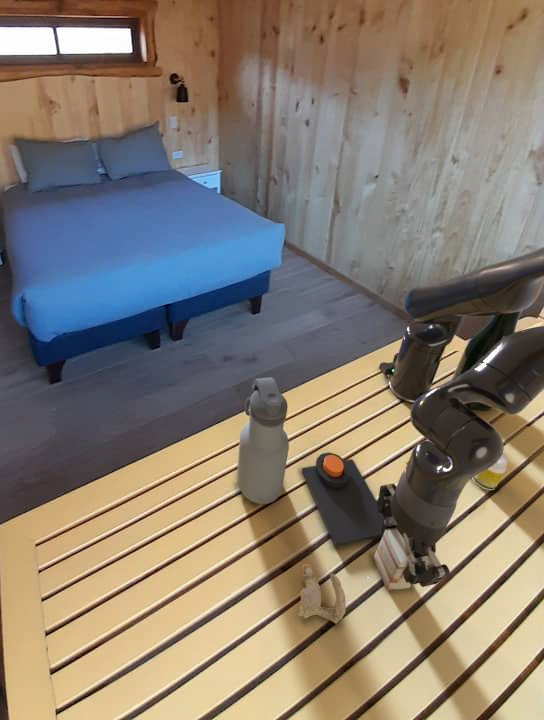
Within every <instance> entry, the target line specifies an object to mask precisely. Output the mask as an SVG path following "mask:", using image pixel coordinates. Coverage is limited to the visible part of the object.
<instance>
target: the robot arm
mask: <svg viewBox="0 0 544 720" xmlns="http://www.w3.org/2000/svg"><path fill="white" fill-rule="evenodd" d="M543 286H544V246H543V247H540V248H537V249H534V250H533V251H530V252H528V253H525V254H521V255H519V256H516V257H513V258H509V259H506V260H503V261H499V262H496V263H491V264H488V265H485V266H482V267H479V268H476V269H473V270H471V271H468V272H466V273H462V274H459V275H456V276H454V277H450V278H449V279H445V280H443V281H440V282H436V283H430V284H424V285H423V284H421V285H416V286H414V287H413V288H411V289H410V290H409V291H408V292H407V294H406V297H405V299H404V308H405V312H406V313H407V315H408V316H409V317H410V319H412V320H413V322H410V323H409V324H408V325H407V326H406V328H405V330H404V333H403V337H402V340H401V343H400V347H399V351H398V352H396V353H395V354H394V356H393V359H392V362H391V361H390V362H386V361H383V362H381V363H379V366H378V369H379V371H380V372H381V373H382V374H383V375H384V376H387V380H388V387H389V390H390V391H391V392H392V394H393V395H394V396H395V397H396V398H398V399H400V400H401V401H403V402H406V403H409V404H412V406H411V408H410V414H409V415H410V417H409V419H410V423H411V425H412V426H413V427H414V429H415V430H416V431H417V432H418V433H419V434H420V435H421V436H423V437H424V438H425V439H426V440H423V441H420V442H418V443H417V444H416V445H415V446H414V447H413V449H412V451H411V453H410V455H409V459H408V462H407V464H406V467H405V469H404V470H403V472H402V473H401V475H400V477H399V480H398V481H397V484H396V483H387V484H382V485H380V487H379V493H378V500H377V503H378V505H377V509H378V511H379V513H380V514H381V513H382V514H383V517H384V518H383V519H382V520H383V526H382V528H381V532H382V534H381V537H383V535H384V532H385V530H387V529H393V528H397V530H398V531H399V533H400V534H401V536H402V537H403V539H404V541H405V548H406V557H407V558H408V559H409V567H408V569H407V571H406V573H405V575H404V579H405V581H406V583H409V582H410V584H411V586H412V585H417V584H419V585H420V587H422V588H424V587H429V586H433V585H437V584H440V582H441V581H443V580H444V579H445V578H446V577H448V576H450V574H451V571H450V569H449V567H448V565H447V564H446V563H443V564H441V563H440V560H439V558H438V557H437V554H436V552H437V548H436V545H437V543H438V542H439V541H440V539H441V538H442V537H443V534H444V533H445V531H446V529H447V527H448V525H449V523H450V521H451V520H452V517H453V515H454V513H455V511H456V508H457V504H458V501H459V499H460V496H461V494H462V492H463V490H464V488H465V486H467V484H468V483H469V482H470V481H471V480H473V479H472V478H473V477H474V476H476V475H478V474H479V473H481V472H483V471H485V470H486V469H488V468H490V467H491V466H493V465H494V464H495V463H496V462H497V461H498V460H499V459H500V458H501V456H502V454H503V453H504V440H503V438H502V435H501V433H500V432H499V431H498V430H497V428H496V427H495V426H493V425H492V424H491V423H490V422H488V421H487V420H486V419H484V418H483V417H481V416H480V415H479V414H478V413H476V412H475V410H473V409H470V408H468V407H467V406H466V405H464V404H465V403H469V402H480V403H483V404H486V405H488V406H490V407H492V408H494V409H495V410H497V411H499V412H501V413H503V414H506V415H510V416H511V415H512V416H513V415H517V414H519V413H521V412H522V411H523V410H525V409H526V408H527V406H529V405H530V404H531V403H532V402H533V400H534V399H536V398H537V397H538V396H539V394H541V392H543V391H544V325H540V326H534V327H531V328H530V327H529V328H525V329H521V330H518V331H515V333H512V334H510V335H508V336H506V337H504V338H503V339H501V340H500V341H499V342H498V343H496V344H495V345H494V346H493V347H492V348H491V349H490V350H489V351H488V352H487V353H486V354H485V355H484V356H483V357H482V358H481V359H480V360H479V361H478V362H477V363H476V364H475V365H474V366H473V367H472V368H470V369H469V370H468V371H466V372H464V373H463V374H461V375H459V376H458V377H456V378H454V379H452V378H451V380H448V381H447V382H445V383H443V384H440V385H438V386H436V387H434V388H432V386H433V382H434V380H435V377H436V375H437V372H438V369H439V367H440V365H441V361H442V358H443V356H444V353H445V351H446V348H447V346H449V345H450V344H451V343H452V341H453V340H454V338H455V336H456V333H457V331H458V329H459V326H460V325H461V322H462V320H463V318H464V317H488V316H489V317H490V316H494V315H500V314H507V313H513V312H518V311H522V312H523V311H524V310H527V309H528V308H529V307H531V306H532V305H533V304H534V303H535V301H536V300H537V299H538V298H539V295H540V293H541V291H542V288H543ZM494 409H493V410H494ZM413 551H414V552H413ZM418 562H420V564H417V563H418Z"/></svg>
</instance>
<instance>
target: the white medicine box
mask: <svg viewBox="0 0 544 720" xmlns="http://www.w3.org/2000/svg"><path fill="white" fill-rule="evenodd" d="M413 552H414V551H413ZM373 561H374V563H375V565H376V568H377V570H378V573H379V575H380V578H381V580H382V582H383V584H384V586H385V589H386V590H388V591H390V590H391V591H392V590H403V589H410V587H412V585H411V584H410V582H409V583H406V581H405V579H404V575H405V573H406V571H407V569H408V567H409V559H408V558H407V557H406V548H405V541H404V539H403V537H402V536H401V534H400V533H399V531H398V530H397V528H393V529H387V530H385V532H384V535H383V537H382V538H380V541H379V544H378V546H377V549H376V551H375V554H374V556H373ZM417 564H420V562H418V563H417Z"/></svg>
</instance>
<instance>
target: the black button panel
mask: <svg viewBox="0 0 544 720" xmlns="http://www.w3.org/2000/svg"><path fill="white" fill-rule="evenodd" d="M328 455H334V456H337V457H338V458H340V459H341V461H342V462H343V465H344V468H343V472H342V475H341V476H340V477H336V478H335V477H331V476H329V475H328V474H327V473H326V472H325V471H324V468H323V463H324V459H325V457H326V456H328ZM315 460H316V461H315V465H313V466H307V467H302V468H301V474H302V476H303V479H304V481H305V484H306V486H307V488H308V489H309V493H310V494H311V497H312V499H313V501H314V504H315V506H316V508H317V511H318V513H319V515H320V517H321V520H322V522H323V524H324V527H325V529H326V532H327V534H328V536H329V538H330V540H331V542H332V545H333V547H334V548H339V547H342V546H348V545H353V544H357V543H358V544H359V543H363V542H368V541H373V540H376V539H382V537H381V534H382V532H381V528H382V526H383V520H382V519H383V518H384V517H383V514H382V513H381V514H380V513H379V511H378V509H377V505H378V500H376V498H375V496H374V494H373V492H372V491H371V490H370V487H369V486H368V484H367V482H366V481H365V478H364V477H363V476H362V475H363V474H362V473H361V472H360V470H359V468H358V467H357V465H356V463H355V461H354V460H353V458H351V459H346V460H345V459H344V458H343V457H341V456H340V455H339V454H336V453H333V452H323V453H321V454H320V455H318V457H317V458H316V459H315Z"/></svg>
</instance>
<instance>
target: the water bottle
mask: <svg viewBox="0 0 544 720" xmlns="http://www.w3.org/2000/svg"><path fill="white" fill-rule="evenodd" d="M252 381H253V382H252V391H253V393H252V394H251V395H250V396H248V397H247V398H246V399H245V404H244V405H245V406H244V413H245V415H246V416H249V421H247V422H246V423H245V424H244V425H243V426H242V429H241V431H240V435H239V443H238V456H237V471H236V483H237V486H238V488H239V491H240V492H241V494H242V495H243V496H244V497H245V498H246V499H247V500H249V501H251V502H252V503H255V504H258V505H267V504H271V503H273V502H275V501H276V500H277V499H278V498H279V497H280V495H281V493H282V491H283V486H284V481H285V473H286V467H287V461H288V455H289V450H290V449H289V448H290V442H289V437H288V435H287V432H286V431H285V429H284V425H285V422H286V420H287V414H288V407H289V406H288V401H287V399H286V397H285V396H284V395H283V394H282V393H281V392H280V389H279V387H278V384H277V382H276V379H275V378H274V377H263V378H254V379H253V380H252Z"/></svg>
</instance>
